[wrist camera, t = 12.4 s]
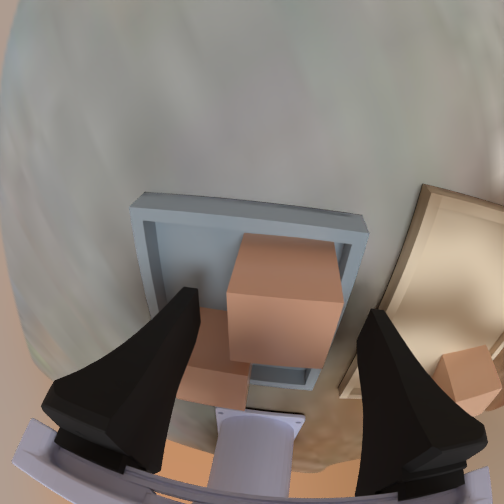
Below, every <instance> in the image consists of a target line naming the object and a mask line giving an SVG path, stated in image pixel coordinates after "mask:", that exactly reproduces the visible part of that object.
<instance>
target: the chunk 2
mask: <svg viewBox="0 0 504 504" xmlns="http://www.w3.org/2000/svg"><path fill="white" fill-rule="evenodd" d="M226 295H227V314H228V333H229V349H230V360H231V361H238V362H246V363H255V364H264V365H274V366H286V367H299V368H314V369H323V366H324V363H325V360H326V357H327V355H328V352H329V349H330V346H331V343H332V340H333V337H334V334H335V331H336V328H337V324H338V321H339V318H340V315H341V312H342V308H343V305H344V299H343V292H342V286H341V280H340V273H339V267H338V262H337V256H336V250H335V245H334V242H331V241H323V240H315V239H307V238H299V237H288V236H277V235H265V234H253V233H244V235H243V239H242V242H241V245H240V248H239V252H238V255H237V258H236V262H235V265H234V269H233V272H232V275H231V279H230V282H229V285H228V289H227V292H226Z"/></svg>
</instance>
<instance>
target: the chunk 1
mask: <svg viewBox="0 0 504 504" xmlns="http://www.w3.org/2000/svg"><path fill="white" fill-rule="evenodd" d="M200 318H201V324H200V328H199V332H198V336H197V340H196V343H195V346H194V349H193V351H192V354H191V357H190V359H189V362H188V364H187V367H186V369H185V372H184V375H183V377H182V380H181V382H180V385H179V388H178V391H177V394H176V398H177V399H182V400H186V401H191V402H196V403H201V404H206V405H211V406H216V407H222V408H228V409H234V410H241V411H245V407H246V401H247V395H248V389H249V383H250V377H251V371H252V365H253V363H246V362H238V361H231V360H230V349H229V333H228V314H227V311H224V310H217V309H211V308H204V307H200Z"/></svg>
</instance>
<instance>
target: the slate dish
mask: <svg viewBox="0 0 504 504" xmlns="http://www.w3.org/2000/svg"><path fill="white" fill-rule="evenodd" d="M129 210H130V217H131V223H132V229H133V235H134V241H135V247H136V252H137V257H138V262H139V267H140V272H141V277H142V281H143V286H144V290H145V295H146V299H147V303H148V308H149V312H150V316H151V319H152V318H153V317H154V316H155V315H156V314H157V313H159V312H160V311H161V310H162V309H163V308H164V307H165V305H166V304H167V303H168V302H169V301H170V300H171V299H172V298H173V297H174V296H175V295H176V294H177V293H178V292H179V291H180V290H181V288H183V287H190V288H197V289H198V295H199V307H204V308H211V309H217V310H224V311H227V295H226V292H227V289H228V285H229V282H230V279H231V275H232V272H233V269H234V265H235V262H236V258H237V255H238V252H239V248H240V245H241V242H242V239H243V235H244V233H253V234H265V235H277V236H288V237H299V238H307V239H315V240H323V241H331V242H334V245H335V250H336V256H337V262H338V267H339V273H340V280H341V286H342V292H343V299H344V305H343V308H342V312H341V315H340V318H339V321H338V324H337V328H336V331H335V334H334V337H335V335H336V332H337V329H338V327H339V324H340V321H341V319H342V316H343V313H344V311H345V308H346V305H347V302H348V299H349V297H350V294H351V291H352V288H353V285H354V282H355V279H356V276H357V273H358V270H359V266H360V263H361V260H362V257H363V254H364V250H365V247H366V244H367V240H368V237H369V231H368V229H367V226H366V224H365V221H364V219H363V216H362V215H357V214H351V213H344V212H337V211H330V210H322V209H315V208H307V207H299V206H291V205H283V204H274V203H265V202H256V201H247V200H237V199H226V198H215V197H204V196H192V195H178V194H164V193H148V192H144V193H143V194H142V195H141V196H140V197H139V198H138V199H137V200H136V201H135V202H134V203H133V204H132V205H131V206H130V207H129ZM334 337H333V340H334ZM333 340H332V342H333ZM331 345H332V343H331ZM330 347H331V346H330ZM329 350H330V349H329ZM320 371H321V369H314V368H299V367H286V366H274V365H264V364H255V363H253V365H252V371H251V377H250V383H249V384H254V385H262V386H270V387H279V388H289V389H301V390H312V389H313V387H314V385H315V383H316V380H317V378H318V376H319V374H320Z"/></svg>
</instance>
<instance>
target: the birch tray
mask: <svg viewBox="0 0 504 504" xmlns="http://www.w3.org/2000/svg"><path fill="white" fill-rule="evenodd" d="M378 310H384V311H385V312H386V314H387V315H388V317H389V318H390V320H391V321H392V323H393V324H394V326H395V328H396V329H397V331H398V332H399V334H400V335H401V337H402V338H403V340H404V341H405V343H406V344H407V346H408V347H409V349H410V350H411V352H412V353H413V354H414V356H415V357H416V359H417V360H418V361H419V363H420V364H421V365H422V367H423V368H424V369H425V371H426V372H427V373H428V374H429V375H430V377H431V378H432V376H433V374H434V372H435V369H436V367H437V365H438V363H439V361H440V358H441V356H442V354H447V353H452V352H457V351H461V350H465V349H470V348H474V347H478V346H482V345H486V346H487V348H488V351H489V353H490V356H491V358H492V361H493V359H494V358H495V357H496V356H497V355H498V353H499V352H500V351H501V350H502V348H503V347H504V206H502V205H499V204H495V203H492V202H489V201H486V200H482V199H479V198H476V197H472V196H469V195H465V194H461V193H458V192H454V191H450V190H446V189H442V188H438V187H434V186H430V185H426V184H423V185H422V189H421V192H420V196H419V199H418V203H417V206H416V209H415V212H414V216H413V219H412V222H411V225H410V228H409V231H408V234H407V237H406V240H405V243H404V245H403V248H402V251H401V254H400V256H399V259H398V262H397V264H396V267H395V269H394V272H393V275H392V277H391V280H390V282H389V285H388V287H387V289H386V292H385V294H384V296H383V299H382V301H381V303H380V306H379V308H378ZM339 398H353V399H362V395H361V387H360V379H359V371H358V364H357V354H356V356H355V358H354V360H353V362H352V364H351V365H350V367H349V369H348V371H347V373H346V375H345V377H344V378H343V380H342V382H341V384H340V386H339Z"/></svg>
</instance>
